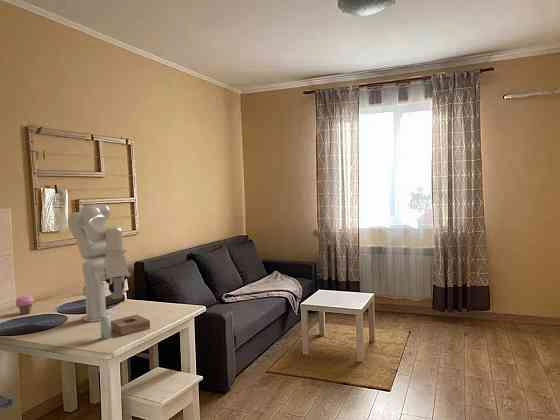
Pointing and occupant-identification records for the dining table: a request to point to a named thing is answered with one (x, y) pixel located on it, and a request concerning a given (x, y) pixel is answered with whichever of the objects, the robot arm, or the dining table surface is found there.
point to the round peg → (105, 326)
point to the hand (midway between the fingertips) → (116, 290)
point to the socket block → (130, 325)
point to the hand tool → (114, 300)
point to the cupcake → (24, 304)
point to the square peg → (117, 288)
